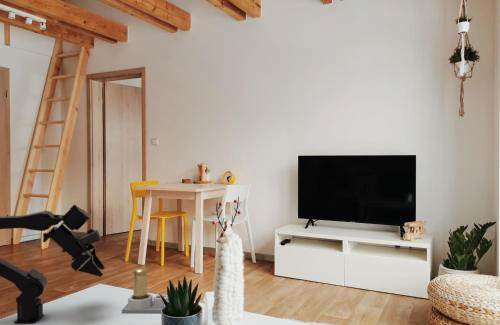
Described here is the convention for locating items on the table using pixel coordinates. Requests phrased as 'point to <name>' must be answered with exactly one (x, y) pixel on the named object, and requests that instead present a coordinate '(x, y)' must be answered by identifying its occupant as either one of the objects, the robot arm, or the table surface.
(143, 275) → the gold metal cylinder
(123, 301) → the table surface
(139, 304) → the manifold plate
